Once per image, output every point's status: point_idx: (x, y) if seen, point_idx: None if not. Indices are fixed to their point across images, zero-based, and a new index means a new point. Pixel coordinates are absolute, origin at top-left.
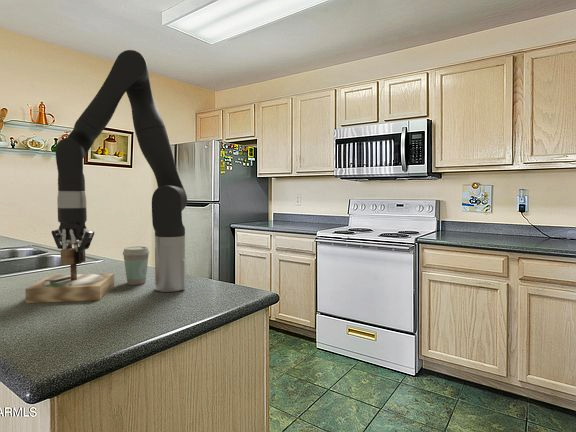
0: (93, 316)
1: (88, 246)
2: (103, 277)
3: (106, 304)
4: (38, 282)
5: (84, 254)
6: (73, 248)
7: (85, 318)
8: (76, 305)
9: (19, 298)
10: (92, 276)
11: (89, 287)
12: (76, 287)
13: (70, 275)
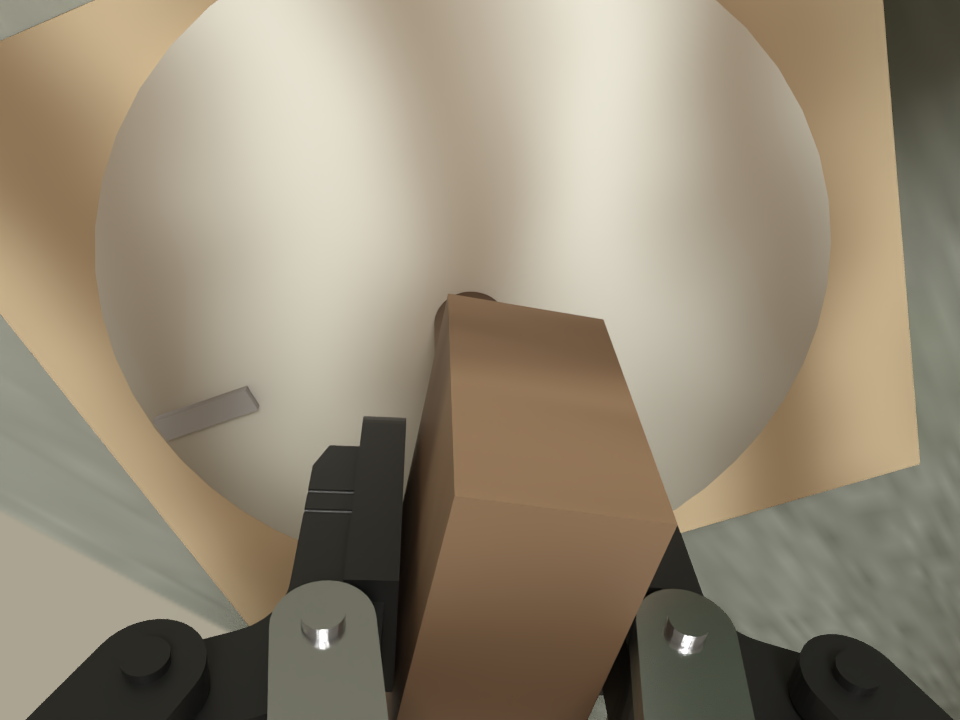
0: (947, 650)
1: (914, 716)
2: (789, 77)
3: (953, 465)
4: (143, 473)
5: (627, 422)
6: (480, 676)
7: (911, 678)
8: (723, 523)
9: (96, 471)
10: (604, 91)
11: (810, 486)
12: (689, 524)
13: (207, 101)
